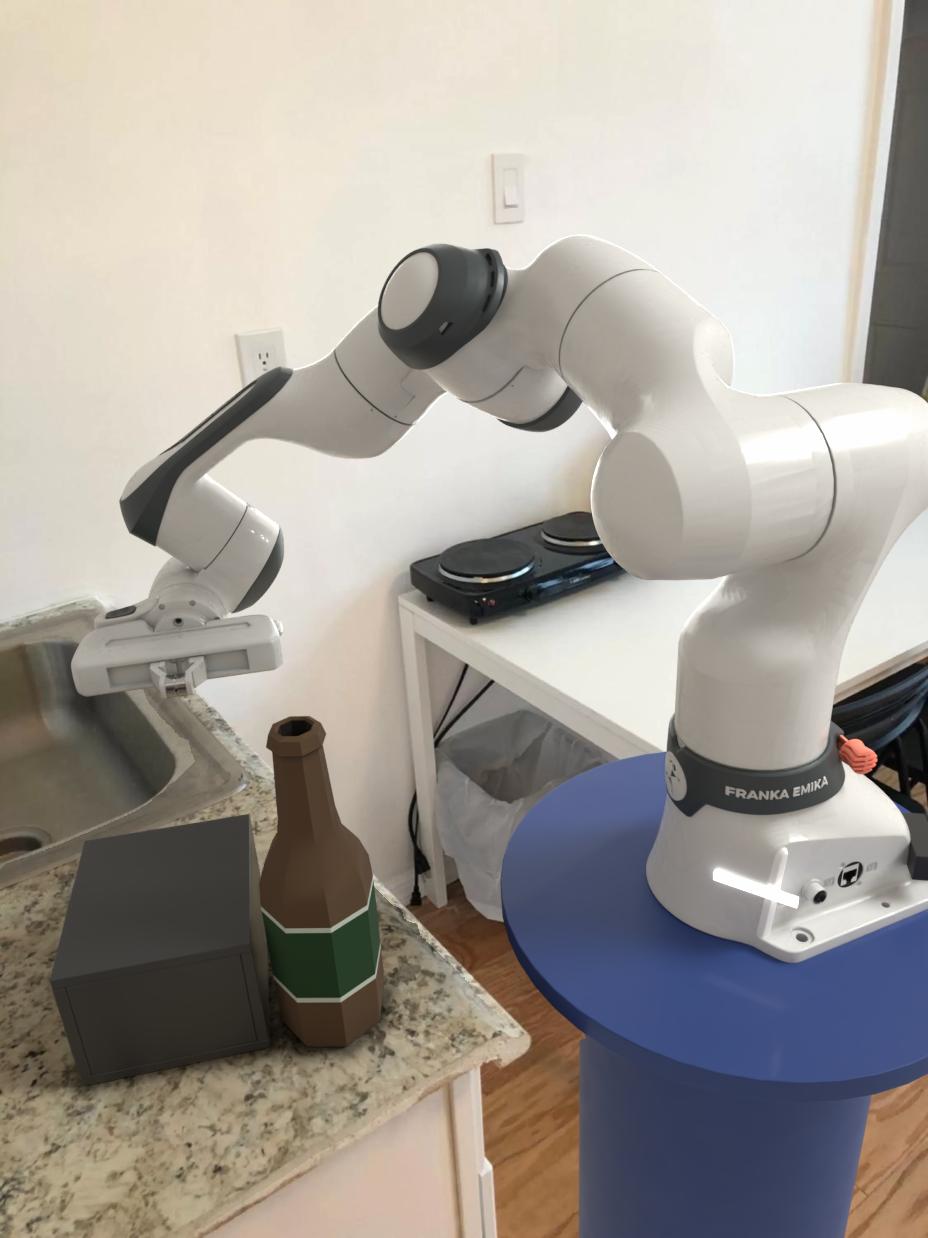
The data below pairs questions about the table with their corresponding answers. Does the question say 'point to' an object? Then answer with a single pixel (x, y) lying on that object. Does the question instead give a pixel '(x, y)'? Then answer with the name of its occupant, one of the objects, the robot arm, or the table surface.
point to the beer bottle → (318, 900)
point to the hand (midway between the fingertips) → (176, 690)
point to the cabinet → (164, 951)
